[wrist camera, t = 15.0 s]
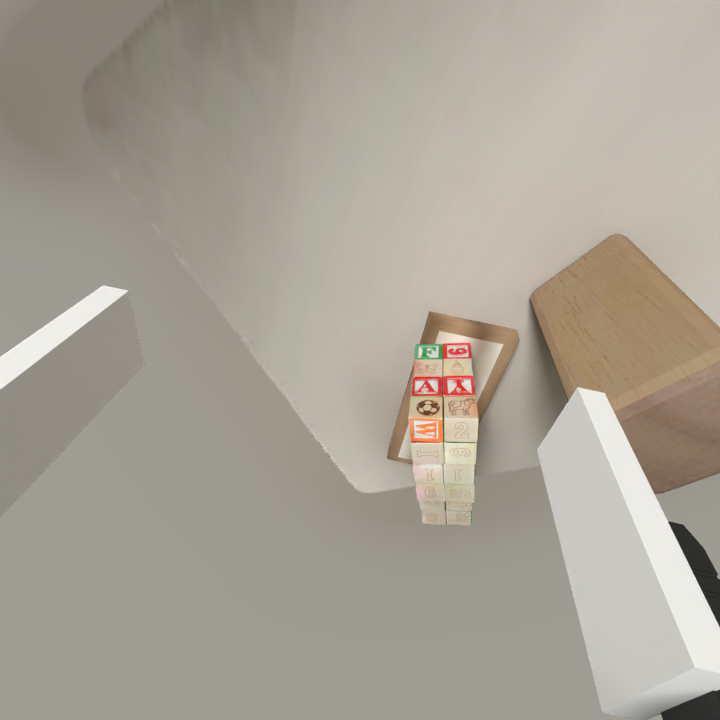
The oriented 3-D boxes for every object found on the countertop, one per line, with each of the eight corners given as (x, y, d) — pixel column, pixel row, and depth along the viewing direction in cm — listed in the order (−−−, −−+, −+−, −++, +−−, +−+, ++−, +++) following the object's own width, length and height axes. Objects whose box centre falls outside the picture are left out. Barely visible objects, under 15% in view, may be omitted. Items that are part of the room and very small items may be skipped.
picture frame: (516, 329, 46) (519, 340, 44) (454, 462, 61) (454, 474, 59) (429, 311, 46) (429, 321, 45) (388, 448, 61) (387, 459, 59)
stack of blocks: (467, 467, 58) (473, 550, 48) (422, 465, 59) (419, 547, 49) (470, 341, 45) (479, 419, 36) (413, 342, 47) (407, 419, 37)
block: (578, 350, 46) (651, 503, 31) (524, 293, 43) (574, 431, 28) (671, 295, 41) (818, 445, 25) (616, 225, 38) (744, 348, 22)
